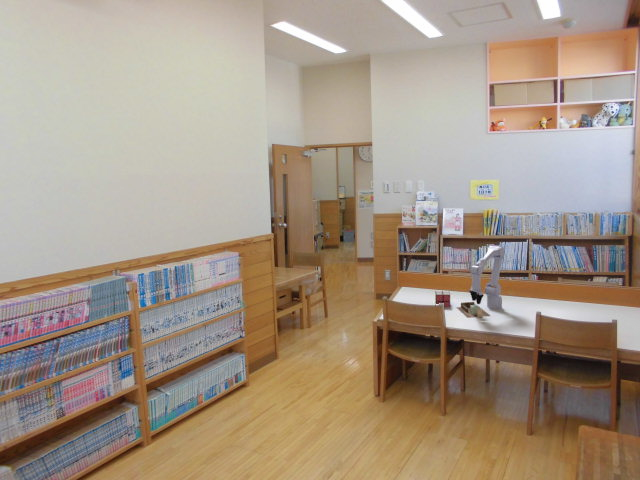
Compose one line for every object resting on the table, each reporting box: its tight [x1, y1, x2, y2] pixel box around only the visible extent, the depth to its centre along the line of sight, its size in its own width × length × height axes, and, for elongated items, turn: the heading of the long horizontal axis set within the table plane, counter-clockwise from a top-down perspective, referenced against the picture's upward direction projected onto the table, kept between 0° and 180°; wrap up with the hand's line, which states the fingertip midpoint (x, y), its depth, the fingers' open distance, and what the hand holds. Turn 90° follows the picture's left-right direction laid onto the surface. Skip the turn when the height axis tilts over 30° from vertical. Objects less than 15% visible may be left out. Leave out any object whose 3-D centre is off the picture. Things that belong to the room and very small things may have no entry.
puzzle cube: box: [434, 290, 451, 308], centre depth 339 cm, size 10×10×10 cm
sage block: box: [470, 304, 483, 318], centre depth 314 cm, size 5×12×6 cm, turn 3°
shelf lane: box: [455, 301, 491, 318], centre depth 321 cm, size 16×22×4 cm
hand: (476, 302), depth 316 cm, fingers open, 7 cm apart
